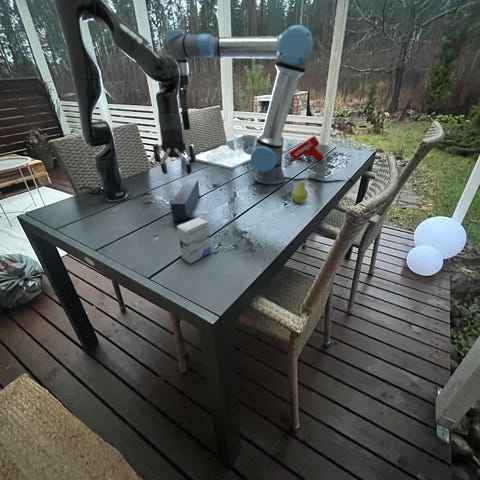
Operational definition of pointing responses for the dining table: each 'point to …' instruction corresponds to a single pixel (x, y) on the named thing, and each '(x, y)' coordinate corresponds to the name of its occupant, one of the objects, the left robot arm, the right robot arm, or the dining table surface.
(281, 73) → the right robot arm
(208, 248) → the ink box
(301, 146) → the toy gun
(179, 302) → the dining table surface
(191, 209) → the bar
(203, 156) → the relief map
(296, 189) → the fruit
